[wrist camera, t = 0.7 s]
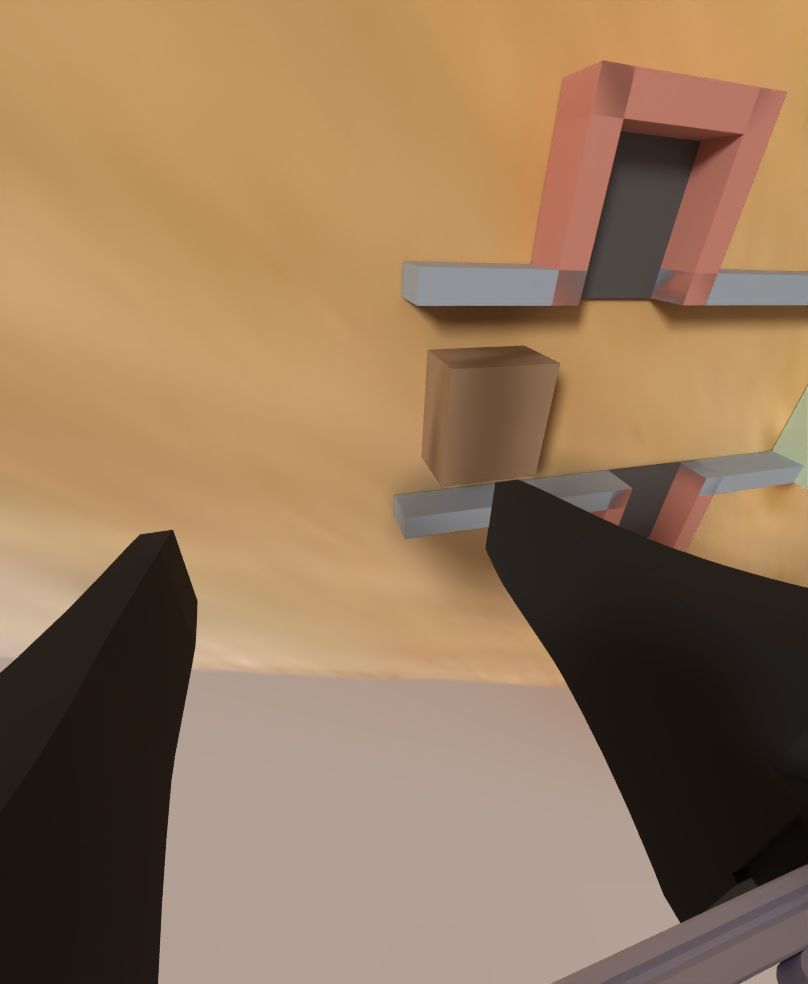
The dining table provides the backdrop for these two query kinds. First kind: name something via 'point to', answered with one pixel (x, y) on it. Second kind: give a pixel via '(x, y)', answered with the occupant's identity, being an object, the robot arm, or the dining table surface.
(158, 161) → the dining table surface
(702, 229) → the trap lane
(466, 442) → the walnut block
